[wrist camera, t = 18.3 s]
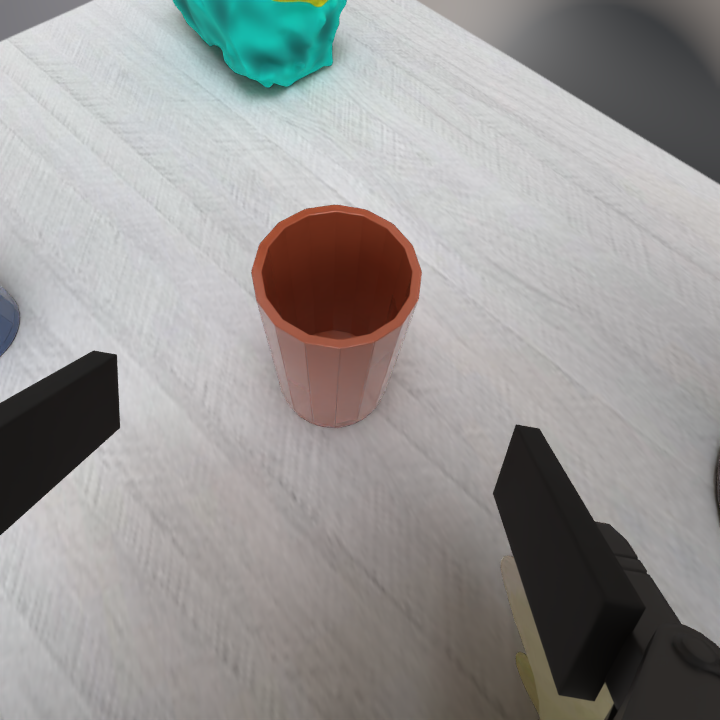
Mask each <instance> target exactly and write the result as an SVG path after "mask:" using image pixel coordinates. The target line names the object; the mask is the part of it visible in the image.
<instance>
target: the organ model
mask: <svg viewBox="0 0 720 720" xmlns="http://www.w3.org/2000/svg"><path fill="white" fill-rule="evenodd" d="M173 2H174V4H175V6H176V7H177V8H178V9H179V10H180V12H181V13H182V14H183V17H184V19H185V20H186V22H187V24H188V25H189V26H190V27H192V28H193V29H194V30H195V31H196V32H197V33H198V34H199V35H200V37H201V38H202V39H203V40H204V41H205V42H206V43H207V44H208V45H209V46H213V45H216V46H217V47H219V48H221V50H222V52H223V57H224V60H225V62H226V64H227V65H228V66H229V67H230V68H231V69H232V70H233V71H234V72H235V73H237V74H240V75H244V76H246V77H248V78H249V79H253V80H257V81H258V82H259V83H261V84H262V85H263V86H265V87H271V86H272V85H273V83H275V84H278V85H281V86H290V85H291V84H293V83H294V82H295V81H297V80H299V79H301V78H303V77H305V76H307V75H308V74H310V73H313V72H315V71H317V70H318V69H320V68H321V67H323V66H331V65H332V63H333V58H332V43H333V40H334V37H335V33H336V30H337V28H338V26H339V17H340V14H341V12H342V10H343V8H344V7H345V5H346V2H347V0H173Z"/></svg>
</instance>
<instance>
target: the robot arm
mask: <svg viewBox="0 0 720 720" xmlns="http://www.w3.org/2000/svg"><path fill="white" fill-rule="evenodd" d="M119 428H120V416H119V393H118V370H117V355H116V354H110V353H104V352H99V351H92V352H90V353H88V354H87V355H85V356H83V357H81V358H80V359H78V360H76V361H74V362H72V363H71V364H69V365H67V366H65V367H64V368H62V369H60V370H58V371H56V372H55V373H53V374H51V375H49V376H48V377H46V378H44V379H42V380H40V381H39V382H37V383H35V384H33V385H31V386H30V387H28V388H26V389H24V390H23V391H21V392H19V393H17V394H15V395H14V396H12V397H10V398H8V399H7V400H5V401H3V402H1V403H0V535H1V534H2V533H4V532H5V531H6V530H7V529H8V528H9V527H10V526H11V525H12V524H14V523H15V522H16V521H17V520H18V519H19V518H20V517H21V516H22V515H24V514H25V513H26V512H27V511H28V510H29V509H30V508H31V507H32V506H34V505H35V504H36V503H37V502H38V501H39V500H40V499H41V498H42V497H44V496H45V495H46V494H47V493H48V492H49V491H50V490H51V489H52V488H54V487H55V486H56V485H57V484H58V483H59V482H60V481H61V480H62V479H64V478H65V477H66V476H67V475H68V474H69V473H70V472H71V471H72V470H74V469H75V468H76V467H77V466H78V465H79V464H80V463H81V462H82V461H84V460H85V459H86V458H87V457H88V456H89V455H90V454H91V453H92V452H94V451H95V450H96V449H97V448H98V447H99V446H100V445H101V444H103V443H104V442H105V441H106V440H107V439H108V438H109V437H110V436H111V435H113V434H114V433H115V432H116V431H117V430H118V429H119ZM717 494H718V503H719V508H720V458H719V463H718V470H717ZM493 495H494V498H495V501H496V504H497V507H498V510H499V513H500V516H501V519H502V522H503V526H504V529H505V532H506V535H507V538H508V541H509V544H510V547H511V550H512V553H513V556H514V560H515V563H516V566H517V569H518V572H519V575H520V578H521V581H522V584H523V587H524V590H525V594H526V597H527V600H528V603H529V606H530V609H531V612H532V615H533V618H534V621H535V624H536V628H537V631H538V634H539V637H540V640H541V643H542V646H543V649H544V652H545V655H546V658H547V661H548V665H549V668H550V671H551V674H552V677H553V680H554V683H555V686H556V689H557V692H558V695H560V696H566V697H571V698H577V699H583V700H588V701H595V700H596V698H597V696H598V694H599V692H600V691H601V689H602V687H603V685H604V683H606V686H607V688H608V690H609V693H610V695H611V697H612V700H613V702H614V704H613V705H612V707H611V709H610V710H609V712H608V714H607V716H606V717H605V719H604V720H720V648H719V647H718V646H717V645H716V644H715V643H713V642H712V641H711V640H709V639H708V638H707V637H705V636H704V635H703V634H701V633H700V632H698V631H696V630H694V629H692V628H690V627H688V626H686V625H682V624H681V622H680V621H679V619H678V618H677V616H676V615H675V613H674V612H673V610H672V609H671V607H670V606H669V604H668V602H667V601H666V599H665V598H664V596H663V595H662V593H661V592H660V590H659V589H658V587H657V586H656V584H655V583H654V581H653V580H652V578H651V577H650V575H649V574H647V570H646V569H645V567H644V566H643V564H642V563H641V561H640V560H638V559H637V558H638V557H637V555H636V554H635V552H634V551H633V549H632V548H631V546H630V544H629V543H628V541H627V540H626V539H625V538H624V537H623V536H622V535H621V534H619V533H618V532H617V531H616V530H615V529H614V528H613V527H612V526H611V525H610V524H606V523H600V522H595V521H594V520H593V518H592V516H591V515H590V513H589V511H588V510H587V508H586V506H585V505H584V503H583V501H582V500H581V498H580V496H579V494H578V493H577V491H576V489H575V488H574V486H573V484H572V483H571V481H570V479H569V478H568V476H567V474H566V473H565V471H564V469H563V468H562V466H561V464H560V463H559V461H558V459H557V458H556V456H555V454H554V453H553V451H552V449H551V448H550V446H549V444H548V443H547V441H546V439H545V437H544V436H543V434H542V432H541V431H540V429H538V428H533V427H527V426H521V425H516V426H515V429H514V432H513V435H512V438H511V441H510V444H509V447H508V450H507V453H506V456H505V459H504V462H503V465H502V468H501V471H500V474H499V477H498V480H497V483H496V486H495V489H494V492H493Z"/></svg>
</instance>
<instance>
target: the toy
mask: <svg viewBox="0 0 720 720" xmlns="http://www.w3.org/2000/svg"><path fill="white" fill-rule="evenodd" d="M501 573H502V577H503V582H504V585H505V589H506V592H507V596H508V600H509V603H510V606H511V609H512V613H513V617H514V621H515V623H516V625H517V628H518V631H519V634H520V637H521V640H522V643H523V646H524V648H525V651H526V654H527V655H526V654H524V653H522V652H518V653H517V654H516V658H515V659H516V665H517V669H518V672H519V675H520V677H521V679H522V682H523V684H524V687H525V689H526V691H527V693H528V695H529V697H530V699H531V701H532V702H533V704H534V706H535V708H536V710H537V712H538V714H539V716H540V720H604V719H605V717H606V716H607V714H608V712H609V710H610V709H611V707H612V705H613V704H614V702H613V700H612V697H611V695H610V693H609V690H608V688H607V686H606V683H604V685H603V687H602V689H601V691H600V692H599V694H598V696H597V698H596V700H595V701H588V700H583V699H577V698H571V697H566V696H560V695H558V692H557V689H556V686H555V683H554V680H553V677H552V674H551V671H550V668H549V665H548V661H547V658H546V655H545V652H544V649H543V646H542V643H541V640H540V637H539V634H538V631H537V628H536V624H535V621H534V618H533V615H532V612H531V609H530V606H529V603H528V600H527V597H526V594H525V590H524V587H523V584H522V581H521V578H520V575H519V572H518V569H517V566H516V563H515V560H514V557H512V556H509V555H507V556H504V557H503V559H502V560H501Z"/></svg>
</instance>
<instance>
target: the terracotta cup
mask: <svg viewBox="0 0 720 720" xmlns="http://www.w3.org/2000/svg"><path fill="white" fill-rule="evenodd" d="M251 274H252V279H253V285H254V290H255V296H256V301H257V304H258V308H259V311H260V315H261V318H262V322H263V326H264V329H265V333H266V336H267V340H268V344H269V347H270V351H271V354H272V358H273V361H274V365H275V369H276V372H277V376H278V379H279V383H280V387H281V390H282V393H283V395H284V397H285V399H286V401H287V402H288V404H289V406H290V407H291V408H292V409H293V411H294V412H296V413H297V414H298V415H299V416H300V417H302V418H303V419H304V420H306V421H308V422H310V423H312V424H315V425H318V426H322V427H330V428H336V427H344V426H348V425H352V424H354V423H357V422H359V421H361V420H362V419H364V418H365V417H367V416H368V415H369V414H370V413H371V412H372V411H373V410H374V409H375V408H376V406H377V405H378V404H379V402H380V400H381V398H382V396H383V394H384V393H385V390H386V388H387V385H388V382H389V379H390V377H391V374H392V371H393V368H394V366H395V363H396V360H397V357H398V355H399V352H400V349H401V346H402V344H403V341H404V338H405V335H406V333H407V330H408V327H409V324H410V322H411V319H412V316H413V313H414V310H415V308H416V305H417V302H418V299H419V292H420V284H421V275H422V272H421V268H420V265H419V262H418V259H417V257H416V254H415V251H414V248H413V246H412V244H411V243H410V242H409V241H408V240H407V238H406V237H405V236H404V235H403V234H402V233H401V232H400V231H399V230H398V229H397V227H396V226H395V225H394V224H392V223H391V222H389V221H387V220H385V219H383V218H381V217H379V216H377V215H376V214H374V213H372V212H370V211H368V210H365V209H360V208H354V207H348V206H342V205H329V206H322V207H315V208H308V209H306V210H305V209H304V210H302V211H300V212H298V213H296V214H294V215H292V216H290V217H288V218H287V219H285V220H283V221H281V222H279V223H278V224H277V225H276V226H275V227H274V228H273V229H272V231H271V232H270V233H269V234H268V235H267V236H266V237H265V239H264V240H263V241H262V242H261V243H260V245H259V247H258V251H257V254H256V257H255V261H254V264H253V267H252V272H251Z"/></svg>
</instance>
